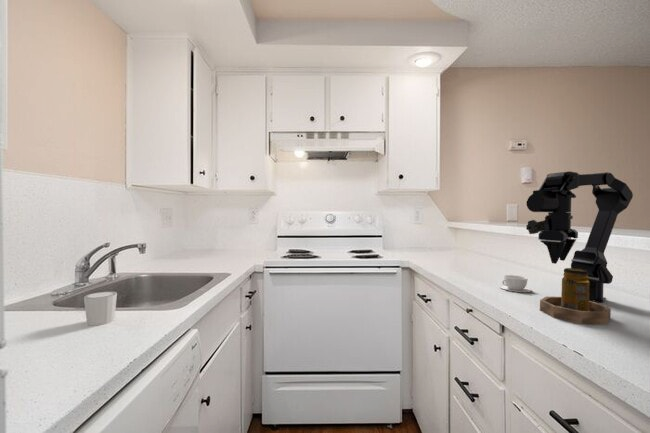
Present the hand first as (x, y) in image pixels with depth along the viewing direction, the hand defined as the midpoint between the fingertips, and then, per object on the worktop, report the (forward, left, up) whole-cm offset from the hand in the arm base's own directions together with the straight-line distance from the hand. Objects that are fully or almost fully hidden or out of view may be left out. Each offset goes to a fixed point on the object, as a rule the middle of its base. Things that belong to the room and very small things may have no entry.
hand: (558, 261), depth 97 cm
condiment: (+10, +6, -13) cm, 17 cm away
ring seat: (+10, +6, -13) cm, 17 cm away
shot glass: (+112, -70, -13) cm, 133 cm away
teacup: (-9, -15, -13) cm, 22 cm away
